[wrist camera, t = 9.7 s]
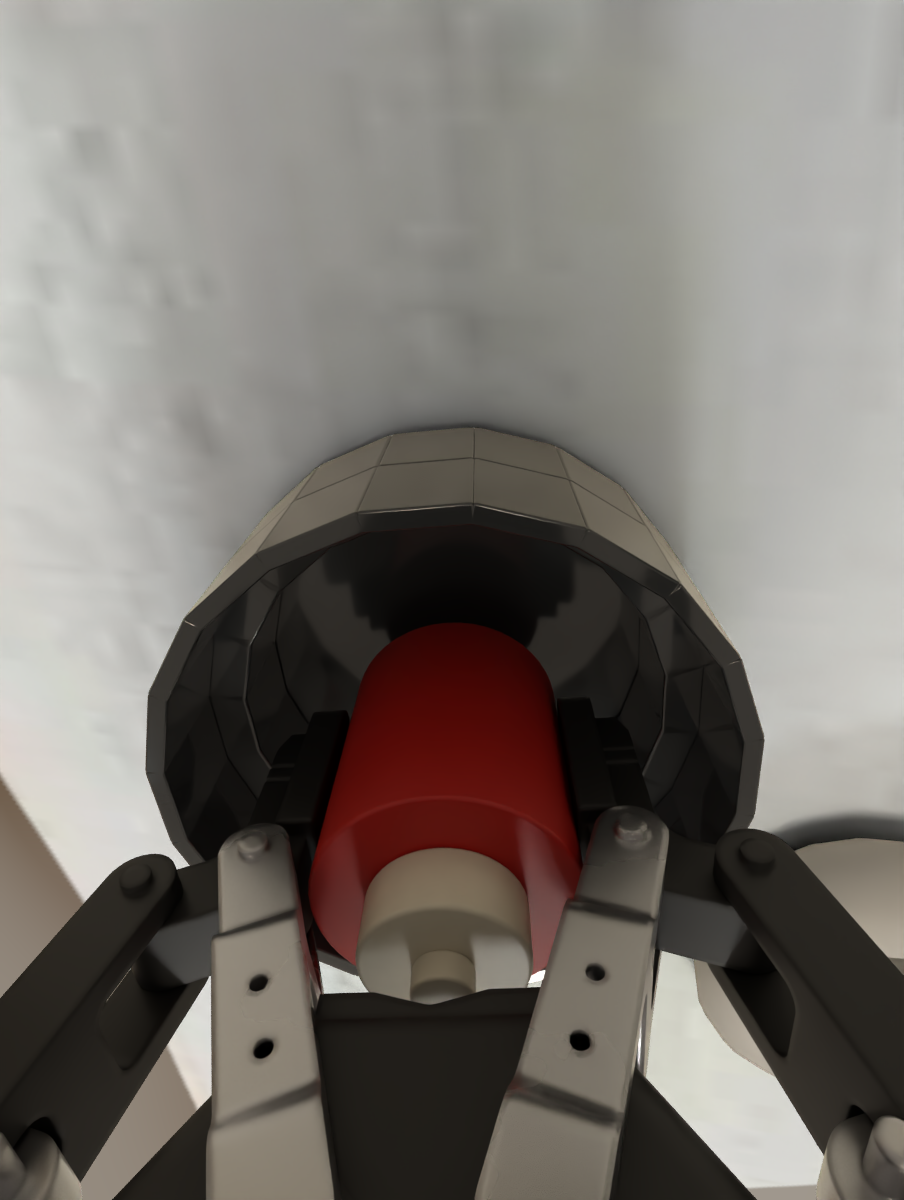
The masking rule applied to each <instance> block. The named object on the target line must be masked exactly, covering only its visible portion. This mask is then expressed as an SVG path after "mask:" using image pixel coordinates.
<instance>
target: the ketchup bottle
mask: <svg viewBox="0 0 904 1200" xmlns="http://www.w3.org/2000/svg"><path fill="white" fill-rule="evenodd" d="M582 867H583V862H582V856H581V850H580V844H579V840H578V834H577V829H576V823H575V817H574V811H573V805H572V799H571V793H570V787H569V782H568V776H567V770H566V764H565V758H564V752H563V746H562V741H561V735H560V729H559V723H558V717H557V710H556V704H555V699H554V693H553V689H552V686H551V682H550V680H549V678H548V675H547V673H546V671H545V670H544V668H543V667H542V665H541V664H540V662H539V661H538V660H537V659H536V657H535V656H534V655H533V654H532V653H531V652H530V651H529V650H528V649H527V648H525V647H524V646H523V645H522V644H520V643H519V642H517V641H516V640H514V639H513V638H511V637H510V636H507V635H505V634H503V633H501V632H499V631H497V630H494V629H491V628H488V627H485V626H480V625H476V624H469V623H440V624H433V625H429V626H425V627H421V628H418V629H415V630H413V631H410V632H408V633H406V634H404V635H402V636H400V637H398V638H396V639H395V640H394V641H392V642H391V643H389V644H388V645H387V646H385V647H384V648H383V649H382V650H381V651H380V652H379V653H378V654H377V655H376V656H375V658H374V659H373V660H372V661H371V663H370V664H369V666H368V668H367V670H366V671H365V673H364V676H363V678H362V681H361V684H360V687H359V691H358V695H357V698H356V702H355V706H354V710H353V713H352V717H351V721H350V725H349V728H348V732H347V736H346V740H345V743H344V747H343V751H342V755H341V758H340V762H339V766H338V770H337V773H336V777H335V781H334V785H333V788H332V792H331V796H330V800H329V803H328V807H327V811H326V814H325V818H324V822H323V826H322V829H321V833H320V837H319V841H318V844H317V848H316V852H315V856H314V859H313V863H312V867H311V871H310V876H309V881H308V896H309V902H310V907H311V911H312V914H313V917H314V919H315V922H316V924H317V926H318V927H319V929H320V931H321V933H322V934H323V936H324V937H325V938H326V940H327V941H328V942H329V944H330V945H331V946H332V947H333V948H334V949H335V950H336V951H337V952H338V953H339V954H340V955H342V956H343V957H344V958H345V959H347V960H348V961H349V962H350V963H352V964H353V965H355V966H356V967H357V971H358V974H359V977H360V979H361V981H362V983H363V985H364V986H365V988H366V989H367V990H368V992H375V993H379V994H384V995H388V996H392V997H396V998H401V999H405V1000H409V1001H413V1002H418V1003H422V1004H428V1005H432V1004H437V1003H441V1002H444V1001H448V1000H451V999H455V998H458V997H462V996H465V995H469V994H472V993H476V992H479V991H483V990H486V989H498V988H527V986H528V983H529V981H530V979H531V976H532V975H534V974H536V973H538V972H539V971H541V970H542V969H544V968H546V966H547V963H548V960H549V956H550V953H551V949H552V946H553V942H554V939H555V935H556V932H557V928H558V925H559V921H560V918H561V915H562V911H563V908H564V905H565V903H566V901H567V899H568V898H570V899H573V898H574V895H575V892H576V888H577V885H578V881H579V878H580V874H581V870H582Z"/></svg>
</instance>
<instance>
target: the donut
mask: <svg viewBox="0 0 904 1200" xmlns="http://www.w3.org/2000/svg"><path fill="white" fill-rule="evenodd" d="M795 853H796V854H797V855H798V856H799V857H800V858H801V859H802V861H803V862H804V863H805V864H806V865H807V866H808V867H809V868H810V870H811V871H812V872H813V873H814V874H815V875H816V876H817V878H818V879H819V880H820V881H821V882H822V883H823V884H824V885H825V887H826V888H827V889H828V890H829V891H830V892H831V893H832V895H833V896H834V897H835V898H836V899H837V900H838V901H839V903H840V904H841V905H842V906H843V907H844V908H845V909H846V910H847V912H848V913H849V914H850V915H851V916H852V917H853V918H854V920H855V921H856V922H857V923H858V924H859V925H860V926H861V927H862V929H863V930H864V931H865V932H866V933H867V934H868V935H869V937H870V938H871V939H872V940H873V941H874V942H875V943H876V944H877V946H878V947H879V948H880V949H881V950H882V951H883V952H884V954H885V955H886V956H887V957H888V958H889V959H890V960H891V962H892V963H893V964H894V965H895V966H896V967H897V968H898V969H899V971H900V972H901V973H902V974H903V975H904V842H902V841H890V840H879V839H868V838H854V839H847V840H839V841H832V842H825V843H817V844H811V845H809V846H806V847H803V848H800V849H798V850H795ZM694 966H695V975H696V983H697V991H698V999H699V1002H700V1004H701V1006H702V1009H703V1011H704V1013H705V1015H706V1016H707V1018H708V1019H709V1021H710V1022H711V1023H712V1025H713V1026H714V1028H715V1029H716V1031H717V1032H718V1034H719V1035H720V1036H721V1038H722V1039H723V1041H724V1042H725V1043H726V1044H727V1045H728V1046H729V1047H730V1048H731V1049H732V1050H733V1051H734V1052H735V1053H737V1054H738V1055H740V1056H742V1057H743V1058H745V1059H746V1060H748V1061H749V1062H751V1063H752V1064H754V1065H755V1066H757V1067H758V1068H760V1069H762V1070H763V1071H765V1072H767V1073H769V1074H771V1075H773V1076H775V1075H774V1073H773V1072H772V1070H771V1068H770V1067H769V1065H768V1063H767V1062H766V1060H765V1058H764V1057H763V1055H762V1054H761V1052H760V1050H759V1049H758V1047H757V1045H756V1044H755V1042H754V1040H753V1039H752V1037H751V1036H750V1034H749V1032H748V1031H747V1029H746V1027H745V1026H744V1024H743V1023H742V1021H741V1019H740V1018H739V1016H738V1014H737V1013H736V1011H735V1009H734V1008H733V1006H732V1005H731V1003H730V1001H729V1000H728V998H727V996H726V995H725V993H724V991H723V990H722V988H721V987H720V985H719V983H718V982H717V980H716V978H715V977H714V975H713V974H712V972H711V970H710V968H709V966H708V964H707V962H703V961H699V960H695V959H694Z"/></svg>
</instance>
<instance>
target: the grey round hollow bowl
mask: <svg viewBox="0 0 904 1200" xmlns="http://www.w3.org/2000/svg"><path fill="white" fill-rule="evenodd" d="M440 623H469V624H476V625H480V626H485V627H488V628H491V629H494V630H497V631H499V632H501V633H503V634H505V635H507V636H510V637H511V638H513V639H514V640H516V641H517V642H519V643H520V644H522V645H523V646H524V647H525V648H527V649H528V650H529V651H530V652H531V653H532V654H533V655H534V656H535V657H536V659H537V660H538V661H539V662H540V664H541V665H542V667H543V668H544V670H545V671H546V673H547V675H548V678H549V680H550V682H551V686H552V689H553V693H554V699H555V704H556V710H557V698H567V697H584V696H589V697H590V699H591V703H592V707H593V711H594V715H595V718H605V717H616V718H617V719H618V720H619V721H620V722H621V723H622V724H623V725H624V726H625V727H626V728H627V729H628V730H629V733H630V736H631V739H632V742H633V746H634V750H635V752H636V755H637V758H638V763H639V765H640V768H641V771H642V774H643V778H644V781H645V784H646V787H647V790H648V793H649V797H650V800H651V803H652V806H653V809H654V812H655V814H656V815H657V816H659V817H660V818H661V819H662V820H663V821H664V823H665V824H666V826H667V828H668V829H670V830H671V831H673V832H674V833H676V834H678V835H680V836H683V837H685V838H688V839H692V840H696V841H701V842H706V843H711V844H717V841H718V840H719V839H720V837H722V836H723V835H724V834H726V833H727V832H729V831H732V830H736V829H747V828H748V827H749V825H750V823H751V821H752V819H753V818H754V814H755V809H756V801H757V794H758V786H759V778H760V771H761V763H762V755H763V748H764V733H763V730H762V727H761V723H760V720H759V716H758V713H757V709H756V706H755V703H754V699H753V696H752V692H751V689H750V685H749V682H748V679H747V675H746V672H745V668H744V665H743V661H742V659H741V657H740V655H739V653H738V652H737V650H736V649H735V647H734V645H733V644H732V642H731V641H730V639H729V638H728V636H727V634H726V633H725V631H724V630H723V628H722V627H721V625H720V624H719V622H718V620H717V619H716V617H715V616H714V614H713V613H712V611H711V610H710V608H709V606H708V605H707V603H706V602H705V600H704V599H703V597H702V596H701V594H700V592H699V591H698V590H697V588H696V586H695V585H694V583H693V582H692V580H691V578H690V577H689V575H688V574H687V572H686V571H685V569H684V568H683V566H682V564H681V563H680V561H679V560H678V558H677V557H676V555H675V554H674V552H673V550H672V549H671V547H670V546H669V544H668V543H667V541H666V540H665V539H664V538H663V536H662V535H661V534H660V533H659V531H658V530H657V529H656V528H655V526H654V525H653V524H652V523H651V521H650V520H649V519H648V518H647V516H646V515H645V514H644V513H643V511H642V510H641V509H640V508H639V506H638V505H637V504H636V503H635V501H634V500H633V499H632V498H631V496H630V495H629V494H628V492H627V491H626V490H625V489H623V488H622V487H621V486H620V485H619V484H617V483H615V482H614V481H612V480H611V479H609V478H607V477H606V476H604V475H602V474H601V473H599V472H598V471H596V470H594V469H593V468H591V467H589V466H588V465H586V464H585V463H583V462H581V461H580V460H578V459H577V458H575V457H573V456H572V455H570V454H568V453H567V452H565V451H564V450H562V449H560V448H558V447H555V446H554V445H552V444H547V443H543V442H539V441H535V440H530V439H526V438H522V437H517V436H513V435H509V434H504V433H500V432H496V431H492V430H487V429H483V428H479V427H475V428H473V427H467V428H455V429H444V430H432V431H421V432H409V433H398V434H393V435H392V436H391V435H388V436H386V437H384V438H381V439H379V440H377V441H374V442H372V443H370V444H367V445H365V446H363V447H360V448H358V449H356V450H354V451H351V452H349V453H347V454H344V455H342V456H340V457H337V458H335V459H333V460H330V461H328V462H326V463H323V464H321V465H320V466H319V467H317V468H315V469H314V470H313V471H312V472H311V473H310V474H309V475H308V476H307V477H306V478H305V479H303V480H302V481H301V482H300V483H299V484H298V485H297V486H296V487H295V488H294V489H293V490H292V491H291V492H289V493H288V494H287V495H286V496H285V497H284V498H283V499H282V500H281V501H280V502H279V503H278V504H277V505H275V506H274V507H273V508H272V509H271V510H270V511H269V512H268V513H267V514H266V515H265V516H264V518H263V519H262V520H261V521H260V523H259V524H258V525H257V526H256V528H255V529H254V530H253V531H252V533H251V534H250V535H249V537H248V538H247V539H246V540H245V542H244V543H243V544H242V545H241V547H240V548H239V549H238V551H237V552H236V553H235V554H234V556H233V557H232V558H231V559H230V560H229V562H228V563H227V564H226V565H225V567H224V568H223V569H222V571H221V572H220V573H219V574H218V576H217V577H216V578H215V579H214V581H213V582H212V583H211V584H210V586H209V587H208V588H207V590H206V591H205V592H204V593H203V595H202V596H201V597H200V598H199V600H198V601H197V602H196V604H195V605H194V606H193V607H192V609H191V610H190V611H189V612H188V614H187V615H186V616H185V618H184V619H183V621H182V623H181V625H180V627H179V629H178V631H177V633H176V635H175V638H174V640H173V642H172V644H171V646H170V648H169V650H168V652H167V654H166V657H165V659H164V661H163V663H162V665H161V667H160V669H159V671H158V673H157V676H156V678H155V680H154V682H153V684H152V686H151V688H150V690H149V695H148V707H147V738H146V775H147V778H148V781H149V783H150V786H151V789H152V791H153V794H154V797H155V800H156V802H157V805H158V808H159V810H160V813H161V816H162V819H163V821H164V824H165V827H166V829H167V832H168V835H169V838H170V840H171V842H172V844H173V845H174V846H175V848H176V849H177V850H178V851H179V853H180V854H181V855H182V856H183V858H184V859H185V860H186V861H187V863H188V864H189V865H190V866H191V865H195V864H198V863H201V862H205V861H208V860H210V859H213V858H215V857H217V856H218V854H219V851H220V848H221V847H222V845H223V844H224V842H225V841H226V840H227V839H228V838H229V837H230V836H231V835H233V834H234V833H235V832H237V831H239V830H240V829H242V828H245V827H247V826H248V824H249V821H250V819H251V816H252V814H253V811H254V808H255V806H256V803H257V801H258V798H259V796H260V793H261V791H262V788H263V786H264V783H265V782H266V778H267V776H268V773H269V771H270V769H272V763H273V761H274V758H275V756H276V753H277V751H278V749H279V748H280V747H281V746H282V745H283V744H284V743H285V742H286V741H287V740H288V739H289V738H290V737H291V736H292V735H298V734H306V732H307V729H308V726H309V723H310V720H311V718H312V715H313V713H314V712H322V711H339V710H346V711H347V712H348V715H349V719H350V721H351V717H352V713H353V710H354V706H355V702H356V698H357V695H358V691H359V687H360V684H361V681H362V678H363V676H364V673H365V671H366V670H367V668H368V666H369V664H370V663H371V661H372V660H373V659H374V658H375V656H376V655H377V654H378V653H379V652H380V651H381V650H382V649H383V648H384V647H385V646H387V645H388V644H389V643H391V642H392V641H394V640H395V639H396V638H398V637H400V636H402V635H404V634H406V633H408V632H410V631H413V630H415V629H418V628H421V627H425V626H429V625H433V624H440ZM312 927H313V931H314V935H315V941H316V947H317V954H318V960H319V961H320V962H323V963H325V964H327V965H330V966H332V967H335V968H337V969H340V970H342V971H345V972H347V973H350V974H352V975H356V976H359V974H358V971H357V967H356V966H355V965H353V964H352V963H350V962H349V961H348V960H347V959H345V958H344V957H343V956H342V955H340V954H339V953H338V952H337V951H336V950H335V949H334V948H333V947H332V946H331V945H330V944H329V942H328V941H327V940H326V938H325V937H324V936H323V934H322V933H321V931H320V929H319V927H318V926H317V924H316V922H315V919H314V917H313V921H312ZM545 970H546V968H544V969H542V970H541V971H539V972H538V973H536V974H534V975H532V976H531V979H530V981H529V983H533V982H537V981H541V980H543V977H544V973H545ZM529 983H528V984H529Z"/></svg>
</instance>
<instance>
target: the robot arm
mask: <svg viewBox="0 0 904 1200" xmlns="http://www.w3.org/2000/svg"><path fill="white" fill-rule="evenodd" d="M557 717H558V723H559V729H560V735H561V741H562V746H563V752H564V758H565V764H566V770H567V776H568V782H569V787H570V793H571V799H572V805H573V811H574V817H575V823H576V829H577V834H578V840H579V844H580V850H581V856H582V862H583V867H582V870H581V874H580V878H579V881H578V885H577V888H576V892H575V895H574V898H573V899H570V898H568V899H567V901H566V903H565V905H564V908H563V911H562V915H561V918H560V921H559V925H558V928H557V932H556V935H555V939H554V942H553V946H552V949H551V953H550V956H549V960H548V963H547V966H546V970H545V973H544V977H543V980H542V984H541V987H531V988H498V989H486V990H483V991H479V992H476V993H472V994H469V995H465V996H462V997H458V998H455V999H451V1000H448V1001H444V1002H441V1003H437V1004H432V1005H428V1004H422V1003H418V1002H413V1001H409V1000H405V999H401V998H396V997H392V996H388V995H384V994H379V993H375V992H367V993H334V994H324V990H323V984H322V978H321V972H320V966H319V960H318V954H317V947H316V941H315V935H314V931H313V927H312V921H313V914H312V911H311V907H310V902H309V896H308V881H309V876H310V871H311V867H312V863H313V859H314V856H315V852H316V848H317V844H318V841H319V837H320V833H321V829H322V826H323V822H324V818H325V814H326V811H327V807H328V803H329V800H330V796H331V792H332V788H333V785H334V781H335V777H336V773H337V770H338V766H339V762H340V758H341V755H342V751H343V747H344V743H345V740H346V736H347V732H348V728H349V725H350V719H349V715H348V712H347V711H346V710H339V711H322V712H314V713H313V715H312V718H311V720H310V723H309V726H308V729H307V732H306V734H298V735H292V736H291V737H290V738H289V739H288V740H287V741H286V742H285V743H284V744H283V745H282V746H281V747H280V748H279V749H278V751H277V753H276V756H275V758H274V761H273V763H272V769H270V771H269V773H268V776H267V778H266V782H265V783H264V786H263V788H262V791H261V793H260V796H259V798H258V801H257V803H256V806H255V808H254V811H253V814H252V816H251V819H250V821H249V824H248V826H247V827H245V828H242V829H240V830H239V831H237V832H235V833H234V834H233V835H231V836H230V837H229V838H228V839H227V840H226V841H225V842H224V844H223V845H222V847H221V848H220V851H219V854H218V856H217V857H215V858H213V859H210V860H208V861H205V862H201V863H198V864H195V865H191V866H188V867H184V868H181V869H178V870H176V867H175V864H174V862H173V861H172V860H171V859H170V858H169V857H167V856H164V855H161V854H148V855H143V856H139V857H136V858H134V859H131V860H129V861H127V862H125V863H124V864H122V865H121V866H119V867H118V868H116V869H115V870H114V871H113V872H112V873H111V874H110V875H109V876H108V877H107V878H106V879H105V880H104V881H103V883H102V884H101V885H100V886H99V887H98V888H97V889H96V890H95V892H94V893H93V894H92V895H91V896H90V897H89V898H88V899H87V901H86V902H85V903H84V904H83V905H82V906H81V907H80V909H79V910H78V911H77V912H76V913H75V914H74V915H73V917H72V918H71V919H70V920H69V921H68V922H67V923H66V924H65V926H64V927H63V928H62V929H61V930H60V931H59V932H58V933H57V935H56V936H55V937H54V938H53V939H52V940H51V941H50V943H49V944H48V945H47V946H46V947H45V948H44V949H43V950H42V952H41V953H40V954H39V955H38V956H37V957H36V959H35V960H34V961H33V962H32V963H31V964H30V965H29V966H28V967H27V969H26V970H25V971H24V972H23V973H22V974H21V975H20V977H19V978H18V979H17V980H16V981H15V982H14V983H13V984H12V986H11V987H10V988H9V989H8V990H7V991H6V992H5V994H4V995H3V996H2V997H1V998H0V1200H82V1188H81V1185H80V1182H81V1181H82V1179H83V1178H84V1176H85V1175H86V1173H87V1171H88V1170H89V1168H90V1167H91V1165H92V1163H93V1162H94V1160H95V1159H96V1157H97V1155H98V1154H99V1152H100V1151H101V1149H102V1147H103V1146H104V1144H105V1143H106V1141H107V1140H108V1138H109V1136H110V1135H111V1133H112V1132H113V1130H114V1128H115V1127H116V1125H117V1124H118V1122H119V1120H120V1119H121V1117H122V1116H123V1114H124V1113H125V1111H126V1109H127V1108H128V1106H129V1105H130V1103H131V1101H132V1100H133V1098H134V1097H135V1095H136V1093H137V1092H138V1090H139V1089H140V1087H141V1085H142V1084H143V1082H144V1081H145V1079H146V1078H147V1076H148V1074H149V1073H150V1071H151V1069H152V1068H153V1066H154V1065H155V1063H156V1062H157V1060H158V1058H159V1057H160V1055H161V1054H162V1052H163V1050H164V1049H165V1047H166V1046H167V1044H168V1043H169V1041H170V1039H171V1038H172V1036H173V1035H174V1033H175V1031H176V1030H177V1028H178V1027H179V1025H180V1023H181V1022H182V1020H183V1019H184V1017H185V1016H186V1014H187V1012H188V1011H189V1009H190V1008H191V1006H192V1004H193V1003H194V1001H195V1000H196V998H197V996H198V995H199V993H200V992H201V990H202V988H203V987H204V985H205V984H206V982H207V980H208V978H209V976H211V1052H212V1095H211V1096H210V1098H209V1099H208V1100H207V1101H206V1102H205V1103H204V1104H203V1105H202V1106H201V1107H200V1108H199V1109H198V1110H197V1111H196V1112H195V1114H193V1115H192V1116H191V1118H190V1119H189V1120H188V1121H187V1122H186V1123H185V1124H184V1125H183V1126H182V1127H181V1128H180V1129H179V1130H178V1131H177V1132H176V1133H175V1134H174V1135H173V1136H172V1137H171V1138H170V1140H169V1141H168V1142H167V1143H166V1144H165V1145H164V1146H163V1147H162V1148H161V1149H160V1150H159V1151H158V1152H157V1153H156V1154H155V1155H154V1156H153V1158H151V1160H150V1161H149V1162H148V1163H147V1164H146V1165H145V1166H144V1167H143V1168H142V1169H141V1170H140V1171H139V1172H138V1173H137V1174H136V1175H135V1176H134V1177H133V1178H132V1180H130V1182H129V1183H128V1184H127V1185H126V1186H125V1187H124V1188H123V1189H122V1190H121V1191H120V1192H119V1193H118V1194H117V1195H116V1196H115V1197H114V1199H112V1200H757V1199H756V1198H755V1197H754V1196H753V1195H752V1194H751V1193H750V1192H749V1191H748V1189H747V1188H746V1187H745V1186H744V1185H743V1184H742V1183H741V1182H740V1181H739V1180H738V1178H737V1177H736V1176H735V1175H734V1174H733V1173H732V1172H731V1171H730V1170H729V1169H728V1167H727V1166H726V1165H725V1164H724V1163H723V1162H722V1161H721V1160H720V1159H719V1158H718V1157H717V1155H716V1154H715V1153H714V1152H713V1151H712V1150H711V1149H710V1148H709V1147H708V1146H707V1144H706V1143H705V1142H704V1141H703V1140H702V1139H701V1138H700V1137H699V1136H698V1135H697V1133H696V1132H695V1131H694V1130H693V1129H692V1128H691V1127H690V1126H689V1125H688V1124H687V1123H686V1121H685V1120H684V1119H683V1118H682V1117H681V1116H680V1115H679V1114H678V1113H677V1112H676V1110H675V1109H674V1108H673V1107H672V1106H671V1105H670V1104H669V1103H668V1102H667V1101H666V1099H665V1098H664V1097H663V1096H662V1095H661V1094H660V1093H659V1092H658V1091H657V1090H656V1088H655V1087H654V1086H653V1085H652V1084H651V1083H650V1082H649V1081H648V1080H647V1079H646V1072H647V1064H648V1054H649V1044H650V1033H651V1025H652V1017H653V1010H654V1002H655V995H656V988H657V981H658V973H659V966H660V959H661V952H662V951H665V952H669V953H673V954H676V955H680V956H684V957H688V958H692V959H695V960H699V961H703V962H707V964H708V966H709V968H710V970H711V972H712V974H713V975H714V977H715V978H716V980H717V982H718V983H719V985H720V987H721V988H722V990H723V991H724V993H725V995H726V996H727V998H728V1000H729V1001H730V1003H731V1005H732V1006H733V1008H734V1009H735V1011H736V1013H737V1014H738V1016H739V1018H740V1019H741V1021H742V1023H743V1024H744V1026H745V1027H746V1029H747V1031H748V1032H749V1034H750V1036H751V1037H752V1039H753V1040H754V1042H755V1044H756V1045H757V1047H758V1049H759V1050H760V1052H761V1054H762V1055H763V1057H764V1058H765V1060H766V1062H767V1063H768V1065H769V1067H770V1068H771V1070H772V1072H773V1073H774V1075H775V1076H776V1078H777V1080H778V1081H779V1083H780V1085H781V1086H782V1088H783V1089H784V1091H785V1093H786V1094H787V1096H788V1098H789V1099H790V1101H791V1103H792V1104H793V1106H794V1107H795V1109H796V1111H797V1112H798V1114H799V1116H800V1117H801V1119H802V1121H803V1122H804V1124H805V1125H806V1127H807V1129H808V1130H809V1132H810V1134H811V1135H812V1137H813V1138H814V1140H815V1142H816V1143H817V1145H818V1147H819V1148H820V1150H821V1152H822V1153H823V1155H824V1159H823V1163H822V1167H821V1170H820V1174H819V1178H818V1182H817V1188H816V1200H904V975H903V974H902V973H901V972H900V971H899V969H898V968H897V967H896V966H895V965H894V964H893V963H892V962H891V960H890V959H889V958H888V957H887V956H886V955H885V954H884V952H883V951H882V950H881V949H880V948H879V947H878V946H877V944H876V943H875V942H874V941H873V940H872V939H871V938H870V937H869V935H868V934H867V933H866V932H865V931H864V930H863V929H862V927H861V926H860V925H859V924H858V923H857V922H856V921H855V920H854V918H853V917H852V916H851V915H850V914H849V913H848V912H847V910H846V909H845V908H844V907H843V906H842V905H841V904H840V903H839V901H838V900H837V899H836V898H835V897H834V896H833V895H832V893H831V892H830V891H829V890H828V889H827V888H826V887H825V885H824V884H823V883H822V882H821V881H820V880H819V879H818V878H817V876H816V875H815V874H814V873H813V872H812V871H811V870H810V868H809V867H808V866H807V865H806V864H805V863H804V862H803V861H802V859H801V858H800V857H799V856H798V855H797V854H796V853H795V851H794V850H793V849H792V848H791V847H790V846H789V845H788V844H787V843H786V842H784V841H783V840H782V839H780V838H778V837H776V836H775V835H772V834H770V833H768V832H764V831H761V830H756V829H736V830H732V831H729V832H727V833H726V834H724V835H723V836H722V837H720V839H719V840H718V841H717V844H711V843H706V842H701V841H696V840H692V839H688V838H685V837H683V836H680V835H678V834H676V833H674V832H673V831H671V830H670V829H668V828H667V826H666V824H665V823H664V821H663V820H662V819H661V818H660V817H659V816H657V815H656V814H655V812H654V809H653V806H652V803H651V800H650V797H649V793H648V790H647V787H646V784H645V781H644V778H643V774H642V771H641V768H640V765H639V763H638V758H637V755H636V752H635V750H634V746H633V742H632V739H631V736H630V733H629V730H628V729H627V728H626V727H625V726H624V725H623V724H622V723H621V722H620V721H619V720H618V719H617V718H616V717H605V718H595V715H594V711H593V707H592V703H591V699H590V697H589V696H584V697H567V698H557ZM130 968H131V970H130ZM129 970H130V971H129ZM128 971H129V972H128ZM127 972H128V974H127V975H126V973H127ZM125 975H126V976H125ZM124 976H125V978H124ZM123 978H124V979H123ZM122 979H123V980H122ZM121 980H122V982H121ZM120 982H121V983H120ZM119 983H120V985H119V986H118V984H119ZM117 986H118V987H117ZM116 987H117V988H116ZM115 988H116V990H115ZM114 990H115V991H114ZM113 991H114V992H113ZM112 992H113V994H112ZM111 994H112V995H111ZM110 995H111V996H110ZM109 996H110V998H109ZM108 998H109V999H108ZM107 999H108V1001H107ZM106 1001H107V1002H106Z"/></svg>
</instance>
